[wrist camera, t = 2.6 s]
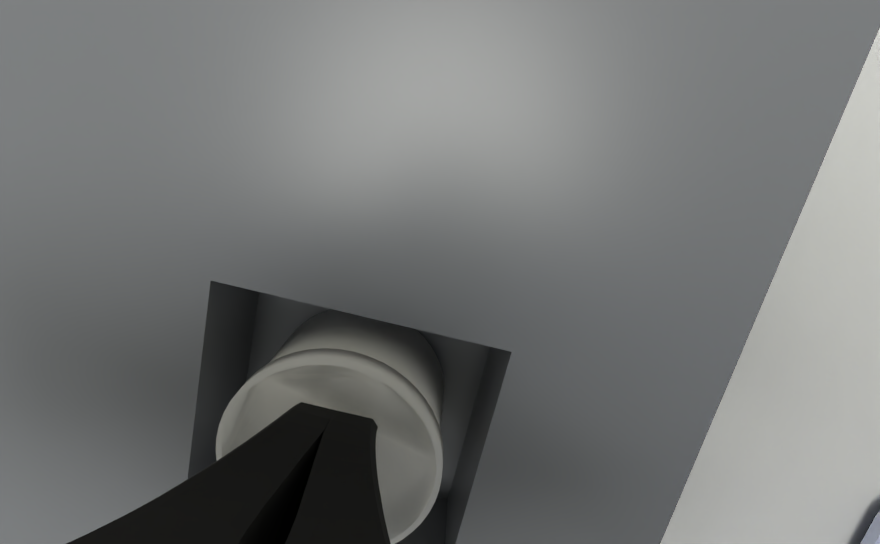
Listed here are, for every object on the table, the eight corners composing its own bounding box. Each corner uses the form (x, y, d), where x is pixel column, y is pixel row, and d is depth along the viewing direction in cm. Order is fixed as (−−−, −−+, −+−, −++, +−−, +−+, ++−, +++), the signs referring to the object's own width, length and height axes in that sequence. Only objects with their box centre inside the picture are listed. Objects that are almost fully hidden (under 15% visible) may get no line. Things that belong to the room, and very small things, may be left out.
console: (181, -926, 7) (-3, -1582, 5) (1046, -700, 8) (1402, -1201, 5) (94, 522, 14) (-3, 627, 11) (549, 628, 14) (568, 758, 11)
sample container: (468, 326, 11) (466, 390, 9) (427, 480, 12) (415, 578, 10) (286, 282, 11) (229, 334, 9) (260, 441, 12) (204, 529, 10)
